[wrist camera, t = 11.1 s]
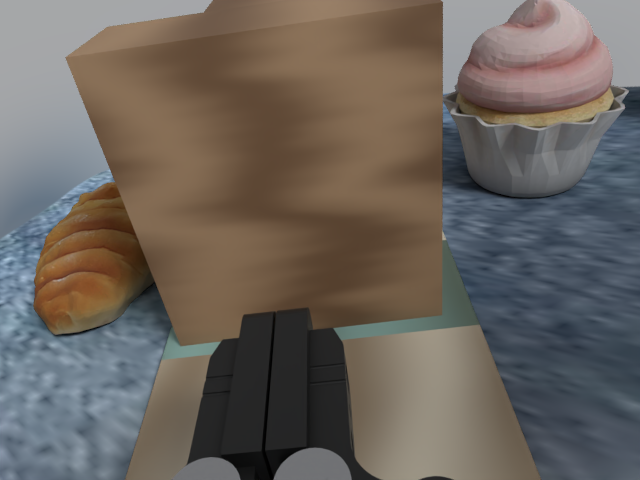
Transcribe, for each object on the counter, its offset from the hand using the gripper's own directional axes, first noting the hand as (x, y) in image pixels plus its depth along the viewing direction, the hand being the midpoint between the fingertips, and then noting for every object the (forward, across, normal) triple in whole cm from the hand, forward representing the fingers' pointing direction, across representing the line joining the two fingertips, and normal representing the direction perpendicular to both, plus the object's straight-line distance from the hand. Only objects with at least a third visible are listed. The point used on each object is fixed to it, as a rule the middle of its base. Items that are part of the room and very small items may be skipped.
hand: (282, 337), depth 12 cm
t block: (+14, 0, +7) cm, 15 cm away
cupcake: (+19, -12, +7) cm, 24 cm away
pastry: (+14, +11, +8) cm, 19 cm away
